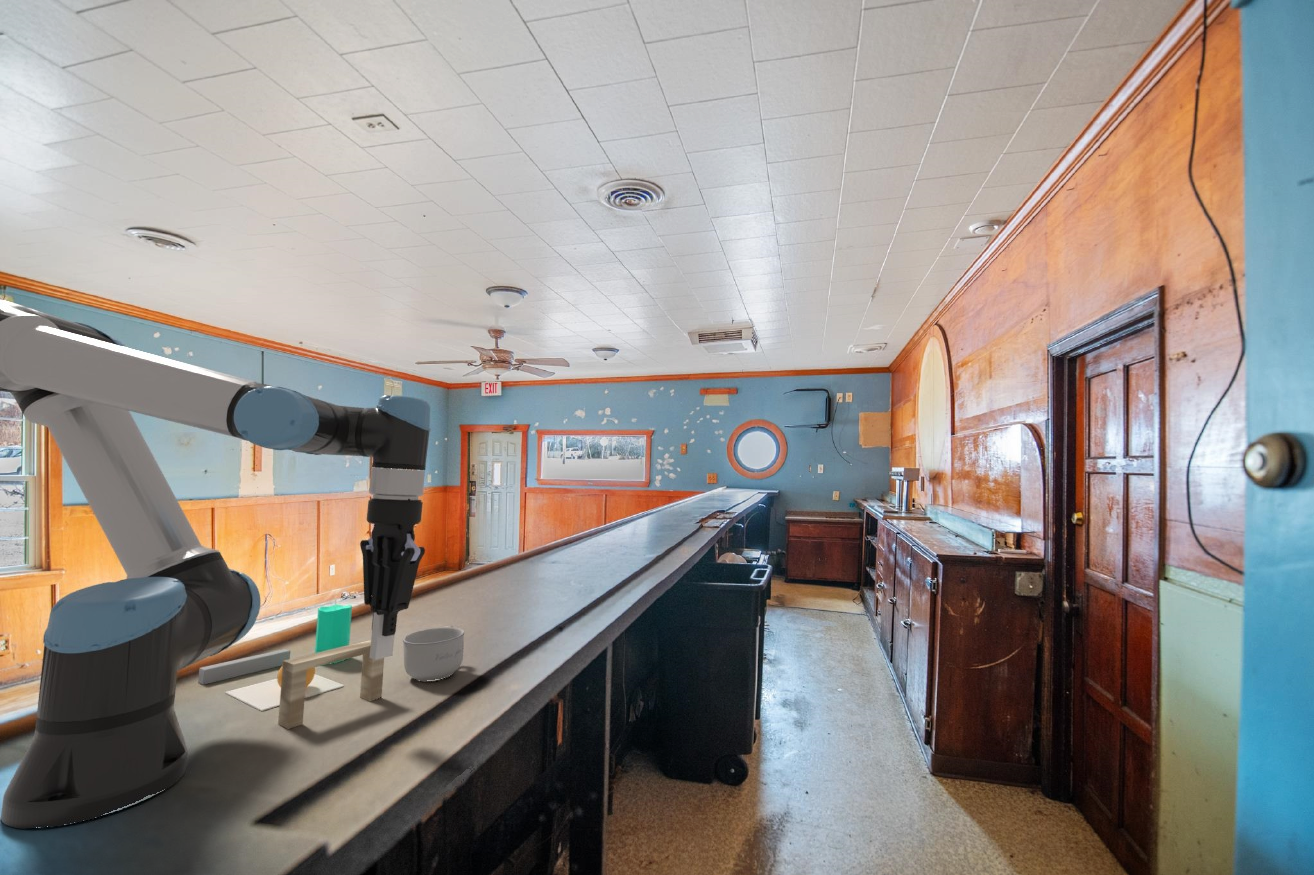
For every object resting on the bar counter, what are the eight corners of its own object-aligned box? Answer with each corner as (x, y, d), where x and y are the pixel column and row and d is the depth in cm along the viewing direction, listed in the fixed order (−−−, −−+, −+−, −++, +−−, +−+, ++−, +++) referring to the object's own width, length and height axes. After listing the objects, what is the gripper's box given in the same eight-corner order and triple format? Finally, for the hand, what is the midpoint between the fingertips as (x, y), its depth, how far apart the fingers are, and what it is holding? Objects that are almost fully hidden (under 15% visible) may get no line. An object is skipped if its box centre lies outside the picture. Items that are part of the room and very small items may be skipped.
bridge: (381, 697, 93) (385, 642, 94) (288, 729, 80) (293, 664, 81) (371, 693, 94) (374, 639, 95) (278, 724, 82) (283, 660, 83)
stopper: (202, 684, 96) (204, 670, 97) (198, 682, 98) (199, 667, 98) (289, 663, 108) (290, 650, 109) (284, 661, 109) (285, 648, 110)
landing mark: (261, 711, 86) (261, 710, 86) (225, 693, 93) (225, 692, 93) (344, 686, 97) (344, 685, 97) (306, 671, 104) (306, 670, 104)
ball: (268, 676, 95) (278, 703, 92) (278, 655, 93) (289, 682, 91) (302, 667, 99) (313, 692, 97) (313, 647, 98) (324, 672, 95)
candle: (354, 658, 112) (358, 599, 113) (323, 666, 107) (328, 604, 108) (338, 653, 116) (342, 595, 117) (308, 660, 110) (312, 600, 112)
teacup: (441, 689, 97) (443, 643, 98) (387, 684, 99) (390, 638, 100) (481, 665, 111) (483, 624, 111) (433, 660, 113) (435, 620, 113)
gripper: (445, 500, 83) (430, 660, 81) (393, 495, 90) (379, 642, 88) (399, 499, 77) (383, 673, 75) (348, 494, 84) (331, 653, 82)
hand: (381, 656), depth 81 cm, fingers closed
